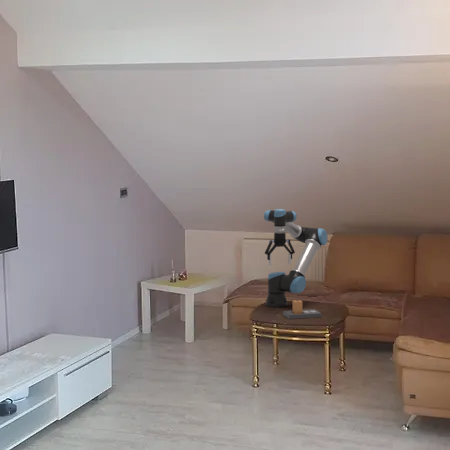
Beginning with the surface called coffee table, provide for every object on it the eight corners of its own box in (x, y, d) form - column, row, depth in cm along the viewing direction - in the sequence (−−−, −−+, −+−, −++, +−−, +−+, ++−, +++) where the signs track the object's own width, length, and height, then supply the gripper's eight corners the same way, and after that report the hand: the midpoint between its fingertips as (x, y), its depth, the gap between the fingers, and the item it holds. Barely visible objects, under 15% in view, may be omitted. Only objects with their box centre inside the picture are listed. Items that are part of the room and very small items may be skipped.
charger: (292, 315, 447) (292, 300, 446) (299, 315, 449) (299, 299, 447) (295, 317, 442) (295, 301, 441) (302, 316, 444) (302, 301, 443)
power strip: (282, 314, 449) (282, 310, 449) (314, 312, 454) (314, 309, 454) (288, 319, 438) (288, 315, 438) (321, 317, 443) (321, 313, 442)
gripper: (263, 233, 448) (263, 266, 450) (299, 232, 453) (299, 264, 455) (260, 232, 455) (260, 264, 457) (296, 231, 460) (295, 262, 463)
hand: (279, 264), depth 456 cm, fingers open, 13 cm apart
